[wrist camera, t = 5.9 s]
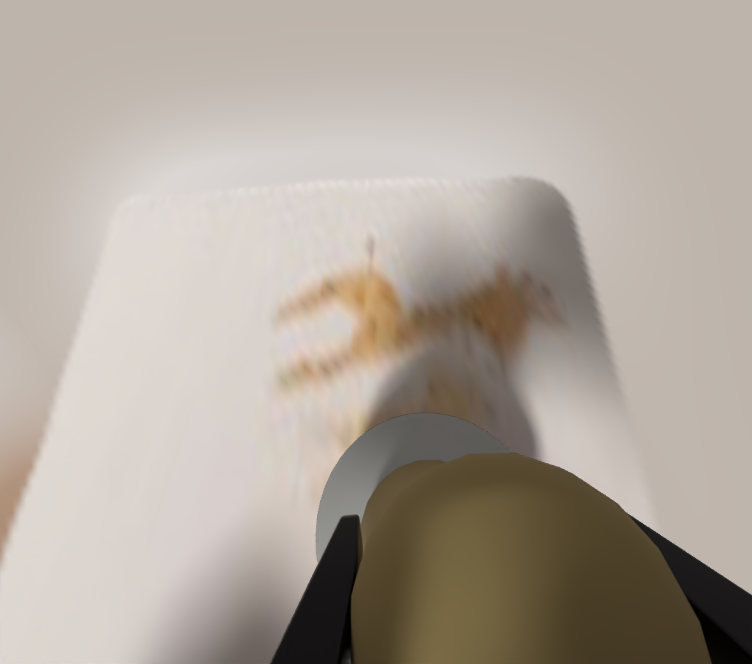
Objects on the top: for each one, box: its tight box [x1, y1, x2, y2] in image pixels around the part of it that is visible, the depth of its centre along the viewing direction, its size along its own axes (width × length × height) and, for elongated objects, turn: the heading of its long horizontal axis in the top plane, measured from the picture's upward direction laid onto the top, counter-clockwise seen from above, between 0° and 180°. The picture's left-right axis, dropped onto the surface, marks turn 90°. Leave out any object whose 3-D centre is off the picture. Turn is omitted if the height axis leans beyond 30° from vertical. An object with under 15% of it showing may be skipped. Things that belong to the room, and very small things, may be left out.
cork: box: [350, 453, 712, 664], centre depth 9 cm, size 6×6×11 cm
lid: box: [316, 413, 511, 563], centre depth 16 cm, size 10×10×1 cm
